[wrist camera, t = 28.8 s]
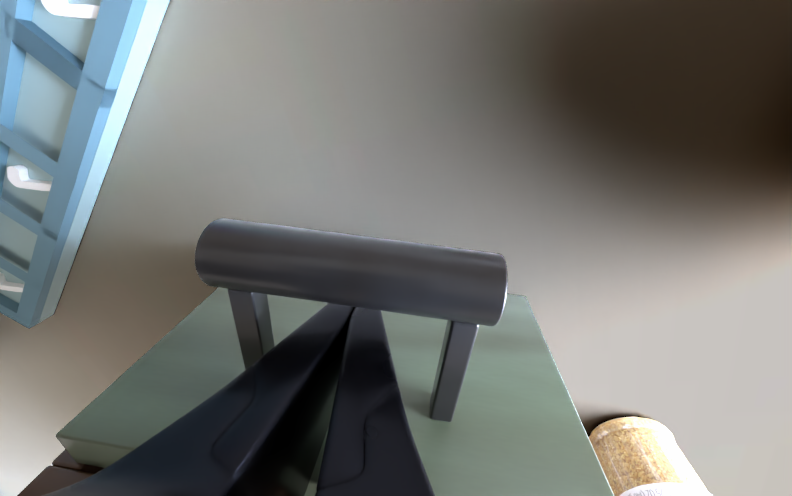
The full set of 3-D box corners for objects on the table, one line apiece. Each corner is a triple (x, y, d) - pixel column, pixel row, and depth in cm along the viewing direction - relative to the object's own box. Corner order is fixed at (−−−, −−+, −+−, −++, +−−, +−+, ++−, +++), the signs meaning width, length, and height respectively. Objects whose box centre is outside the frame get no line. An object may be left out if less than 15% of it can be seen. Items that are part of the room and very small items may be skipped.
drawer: (231, 150, 12) (-97, 246, 4) (565, 188, 11) (821, 379, 4) (278, 426, 21) (192, 611, 13) (466, 458, 20) (485, 674, 12)
